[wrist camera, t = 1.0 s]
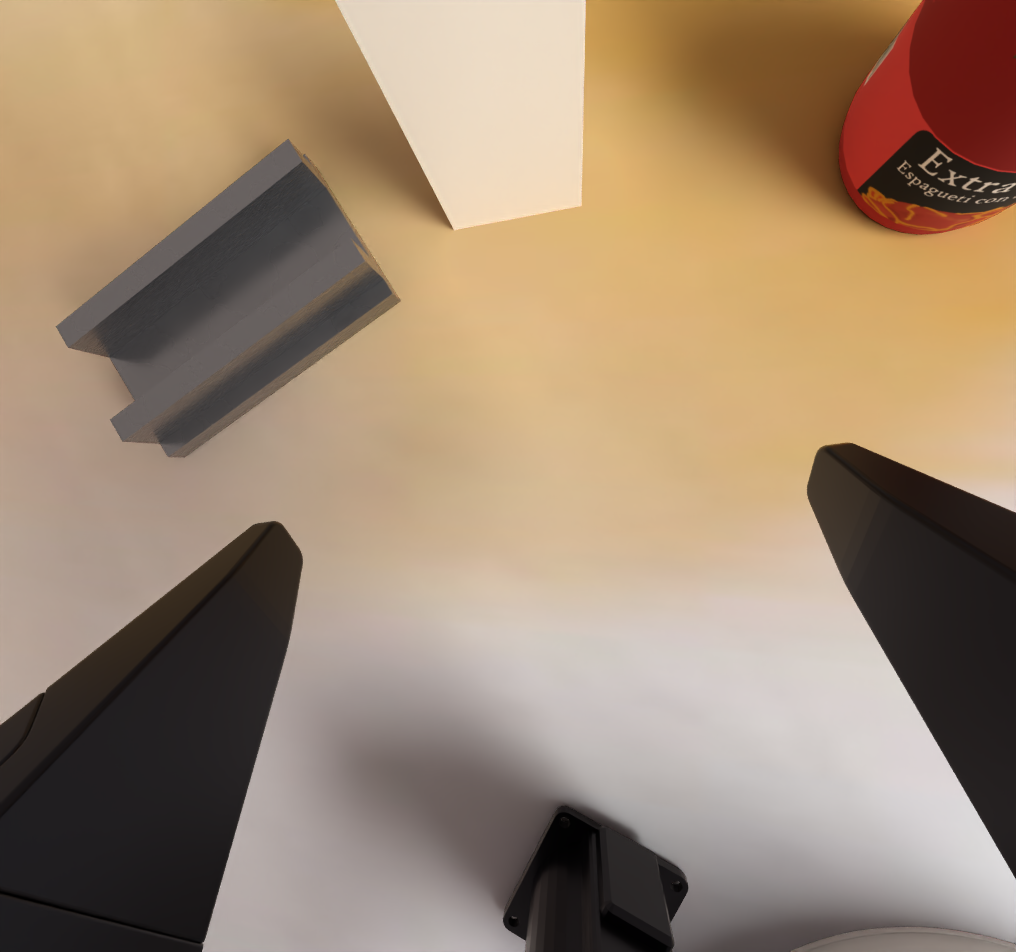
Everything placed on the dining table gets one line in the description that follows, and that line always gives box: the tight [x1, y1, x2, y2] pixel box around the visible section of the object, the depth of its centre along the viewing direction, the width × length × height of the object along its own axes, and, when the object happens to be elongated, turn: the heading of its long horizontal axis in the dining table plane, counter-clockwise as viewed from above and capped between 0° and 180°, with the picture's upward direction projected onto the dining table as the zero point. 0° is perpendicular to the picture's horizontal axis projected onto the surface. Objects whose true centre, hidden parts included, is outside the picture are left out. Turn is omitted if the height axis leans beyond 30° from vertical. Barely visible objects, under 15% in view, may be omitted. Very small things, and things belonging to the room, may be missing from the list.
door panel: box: [335, 0, 586, 230], centre depth 16 cm, size 3×6×13 cm, turn 97°
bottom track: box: [56, 139, 400, 457], centre depth 23 cm, size 8×14×3 cm, turn 122°
